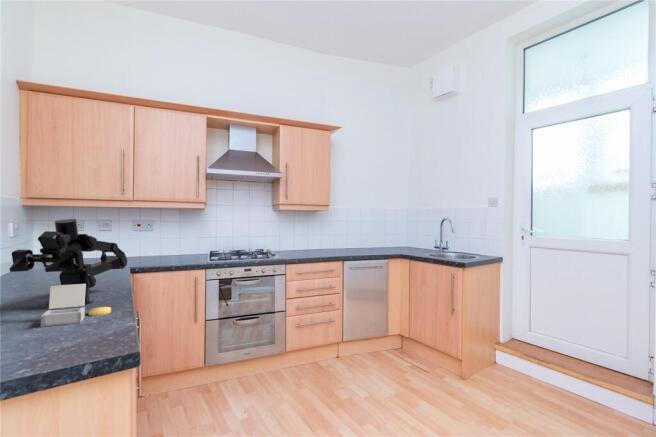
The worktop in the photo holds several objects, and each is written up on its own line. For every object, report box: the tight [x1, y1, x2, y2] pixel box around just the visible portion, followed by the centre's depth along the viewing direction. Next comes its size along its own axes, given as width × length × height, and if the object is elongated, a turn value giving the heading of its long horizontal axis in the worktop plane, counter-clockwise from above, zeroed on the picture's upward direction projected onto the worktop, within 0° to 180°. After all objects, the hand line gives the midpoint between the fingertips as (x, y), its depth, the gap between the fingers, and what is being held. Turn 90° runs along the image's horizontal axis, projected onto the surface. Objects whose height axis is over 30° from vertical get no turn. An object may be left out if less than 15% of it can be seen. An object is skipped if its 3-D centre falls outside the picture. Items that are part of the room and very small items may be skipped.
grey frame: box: [40, 306, 86, 328], centre depth 97 cm, size 7×9×3 cm
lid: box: [48, 284, 86, 310], centre depth 102 cm, size 7×9×1 cm
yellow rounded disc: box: [88, 306, 112, 317], centre depth 107 cm, size 6×6×2 cm
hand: (28, 270), depth 94 cm, fingers open, 9 cm apart
